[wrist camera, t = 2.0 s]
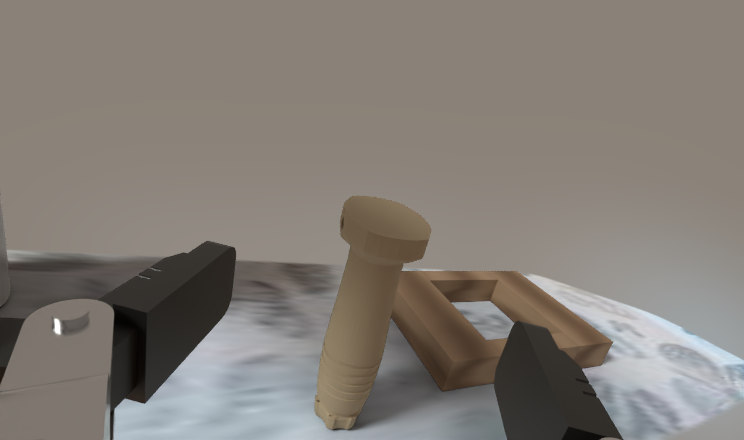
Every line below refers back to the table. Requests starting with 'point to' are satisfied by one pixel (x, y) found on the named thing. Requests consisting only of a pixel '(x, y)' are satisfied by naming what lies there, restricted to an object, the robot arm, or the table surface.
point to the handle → (365, 302)
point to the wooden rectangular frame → (462, 341)
